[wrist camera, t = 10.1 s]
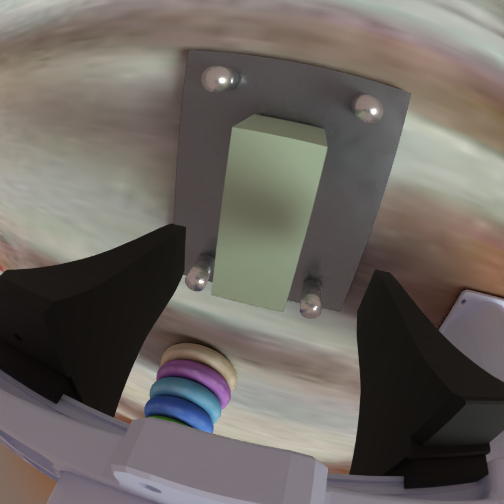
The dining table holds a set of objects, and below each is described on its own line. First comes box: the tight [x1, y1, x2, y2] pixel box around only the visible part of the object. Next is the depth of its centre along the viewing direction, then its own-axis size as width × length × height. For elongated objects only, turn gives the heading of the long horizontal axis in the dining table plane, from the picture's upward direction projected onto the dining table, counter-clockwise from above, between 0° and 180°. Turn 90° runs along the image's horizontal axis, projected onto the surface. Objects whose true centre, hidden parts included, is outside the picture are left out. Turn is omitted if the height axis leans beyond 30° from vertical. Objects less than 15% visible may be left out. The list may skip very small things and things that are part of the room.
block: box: [211, 114, 328, 312], centre depth 17 cm, size 9×4×5 cm, turn 171°
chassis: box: [174, 50, 411, 318], centre depth 19 cm, size 16×13×4 cm
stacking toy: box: [144, 343, 237, 433], centre depth 23 cm, size 8×8×19 cm
